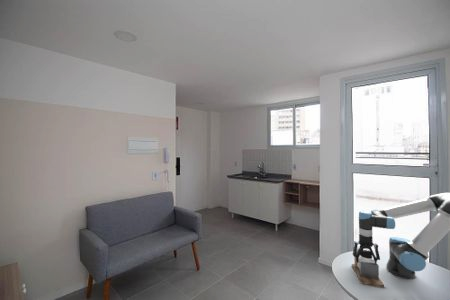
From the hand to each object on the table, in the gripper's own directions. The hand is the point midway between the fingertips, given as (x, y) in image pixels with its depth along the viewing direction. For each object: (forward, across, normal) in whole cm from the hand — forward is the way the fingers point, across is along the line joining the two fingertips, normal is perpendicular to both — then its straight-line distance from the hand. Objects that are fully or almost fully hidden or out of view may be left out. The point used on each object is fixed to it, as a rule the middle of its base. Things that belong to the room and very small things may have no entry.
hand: (366, 268), depth 136 cm
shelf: (+5, 0, +1) cm, 5 cm away
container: (+2, 0, 0) cm, 2 cm away
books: (+3, 0, -8) cm, 8 cm away
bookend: (+3, 0, +5) cm, 6 cm away
